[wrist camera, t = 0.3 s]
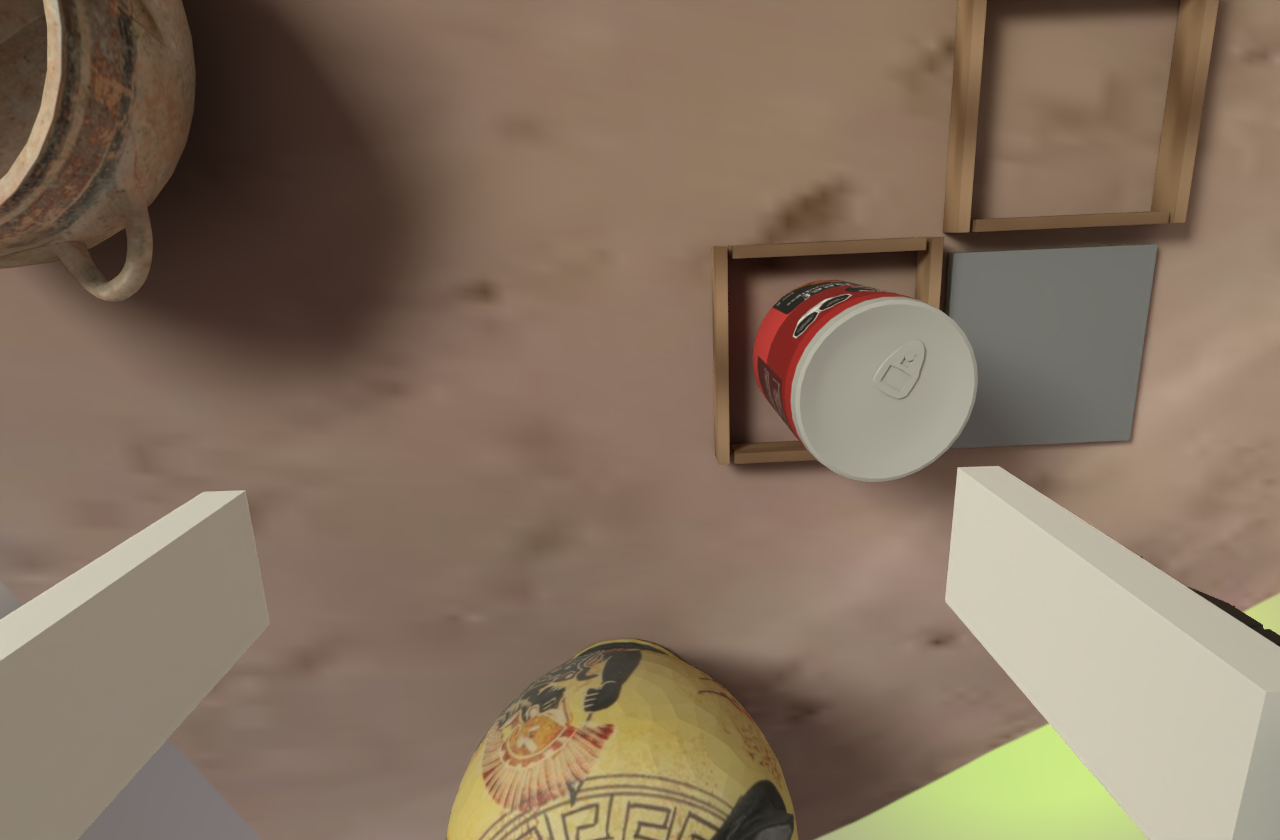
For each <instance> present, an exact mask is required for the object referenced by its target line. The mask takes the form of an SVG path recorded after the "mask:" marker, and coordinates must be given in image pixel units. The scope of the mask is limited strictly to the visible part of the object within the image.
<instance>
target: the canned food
mask: <svg viewBox="0 0 1280 840" xmlns="http://www.w3.org/2000/svg"><path fill="white" fill-rule="evenodd" d="M753 367H754V374H755V377H756V380H757V383H758V386H759V388H760V389H761V391H762V393H763V394H764V396H765V398H766V399H767V400H768V402H769V403H770V404H771V405H772V407H773V408H774V409H775V411H776V412H777V413H778V414H779V416H780V417H781V418H782V420H783V421H784V422H785V423H786V425H787V426H788V427H789V428H790V430H791V431H792V432H793V434H794V435H795V436H796V437H797V439H798V440H799V441H800V442H801V443H802V445H803V446H804V447H805V448H806V449H807V450H808V451H809V452H810V453H811V454H812V455H813V456H814V458H815V459H816V460H817V461H819V462H820V463H822V464H823V465H825V466H826V467H827V468H829V469H830V470H832V471H833V472H835V473H837V474H840V475H842V476H845V477H847V478H850V479H854V480H859V481H865V482H885V481H890V480H894V479H899V478H903V477H905V476H908V475H910V474H913V473H915V472H918V471H920V470H921V469H923V468H925V467H926V466H928V465H929V464H931V463H933V462H934V461H935V460H937V459H938V458H939V457H940V456H941V455H942V454H943V453H944V452H946V451H947V450H948V449H949V448H950V446H951V445H952V444H953V443H954V441H955V440H956V439H957V438H958V437H959V435H960V434H961V432H962V430H963V428H964V427H965V425H966V423H967V421H968V420H969V417H970V414H971V412H972V409H973V406H974V403H975V399H976V392H977V385H978V376H977V363H976V360H975V356H974V352H973V348H972V346H971V344H970V342H969V340H968V339H967V337H966V335H965V333H964V332H963V331H962V329H961V328H960V327H959V326H958V325H957V323H956V322H955V321H954V320H953V319H951V318H950V317H949V316H947V315H946V314H945V313H943V312H942V311H941V310H939V309H937V308H936V307H934V306H932V305H929V304H927V303H925V302H923V301H920V300H917V299H913V298H911V297H907V296H903V295H899V294H895V293H891V292H887V291H883V290H878V289H874V288H870V287H866V286H862V285H858V284H854V283H849V282H844V281H839V280H821V281H816V282H811V283H808V284H805V285H803V286H801V287H798V288H796V289H794V290H793V291H791V292H790V293H788V294H787V295H785V296H784V297H782V298H781V299H780V300H779V301H778V302H777V303H776V304H775V305H774V306H773V307H772V308H771V310H770V311H769V313H768V314H767V315H766V317H765V318H764V320H763V322H762V324H761V326H760V328H759V330H758V332H757V336H756V340H755V343H754V349H753Z"/></svg>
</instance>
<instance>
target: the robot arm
mask: <svg viewBox="0 0 1280 840" xmlns="http://www.w3.org/2000/svg"><path fill="white" fill-rule="evenodd" d="M945 601H946V603H947V604H948V605H949V606H950V607H951V608H952V610H953V611H954V612H955V613H956V614H957V616H958V617H959V618H960V619H961V620H962V621H963V623H964V624H965V625H966V626H967V627H968V628H969V630H970V631H971V632H972V633H973V634H974V635H975V637H976V638H977V639H978V640H979V641H980V643H981V644H982V645H983V646H984V647H985V648H986V650H987V651H988V652H989V653H990V654H991V655H992V657H993V658H994V659H995V660H996V661H997V662H998V664H999V665H1000V666H1001V667H1002V668H1003V670H1004V671H1005V672H1006V673H1007V674H1008V675H1009V677H1010V678H1011V679H1012V680H1013V681H1014V682H1015V684H1016V685H1017V686H1018V687H1019V688H1020V690H1021V691H1022V692H1023V693H1024V694H1025V695H1026V697H1027V698H1028V699H1029V700H1030V701H1031V702H1032V704H1033V705H1034V706H1035V707H1036V708H1037V709H1038V711H1039V712H1040V713H1041V714H1042V715H1043V717H1044V718H1045V719H1046V720H1047V721H1048V722H1049V724H1050V725H1051V726H1052V727H1053V728H1054V729H1055V731H1056V732H1057V733H1058V734H1059V735H1060V737H1061V738H1062V739H1063V740H1064V741H1065V742H1066V743H1067V745H1068V746H1069V747H1070V748H1071V749H1072V751H1073V752H1074V753H1075V754H1076V755H1077V756H1078V758H1079V759H1080V760H1081V761H1082V762H1083V763H1084V765H1085V766H1086V767H1087V768H1088V769H1089V771H1091V773H1092V774H1093V775H1094V776H1095V778H1096V779H1097V780H1098V781H1099V782H1100V783H1101V785H1102V786H1103V787H1104V788H1105V789H1106V790H1107V792H1108V793H1109V794H1110V795H1111V796H1112V798H1113V799H1114V800H1115V801H1116V802H1117V803H1118V805H1119V806H1120V807H1121V808H1122V809H1123V811H1124V812H1125V813H1126V814H1127V815H1128V816H1129V818H1130V819H1131V820H1132V821H1133V822H1134V823H1135V825H1136V826H1137V827H1138V828H1139V829H1140V830H1141V832H1142V833H1143V834H1144V835H1145V836H1146V837H1147V839H1148V840H1280V635H1278V634H1276V633H1275V632H1273V631H1272V630H1270V629H1264V628H1263V625H1262V624H1261V623H1259V622H1257V621H1256V620H1254V619H1253V618H1251V617H1249V616H1248V615H1246V614H1245V613H1243V612H1241V611H1240V610H1238V609H1237V608H1235V607H1233V606H1232V605H1230V604H1229V603H1226V602H1224V601H1222V600H1219V599H1217V598H1214V597H1212V596H1209V595H1207V594H1204V593H1202V592H1200V591H1197V590H1195V589H1192V588H1190V587H1187V586H1185V585H1183V584H1181V583H1180V582H1178V581H1177V580H1175V579H1173V578H1172V577H1170V576H1169V575H1167V574H1166V573H1164V572H1163V571H1161V570H1160V569H1158V568H1156V567H1155V566H1153V565H1152V564H1150V563H1149V562H1147V561H1146V560H1144V559H1142V558H1141V557H1139V556H1138V555H1136V554H1135V553H1133V552H1132V551H1130V550H1128V549H1127V548H1125V547H1124V546H1122V545H1121V544H1119V543H1118V542H1116V541H1114V540H1113V539H1111V538H1110V537H1108V536H1107V535H1105V534H1104V533H1102V532H1100V531H1099V530H1097V529H1096V528H1094V527H1093V526H1091V525H1090V524H1088V523H1086V522H1085V521H1083V520H1082V519H1080V518H1079V517H1077V516H1076V515H1074V514H1073V513H1071V512H1069V511H1068V510H1066V509H1065V508H1063V507H1062V506H1060V505H1059V504H1057V503H1055V502H1054V501H1052V500H1051V499H1049V498H1048V497H1046V496H1045V495H1043V494H1041V493H1040V492H1038V491H1037V490H1035V489H1034V488H1032V487H1031V486H1029V485H1027V484H1026V483H1024V482H1023V481H1021V480H1020V479H1018V478H1017V477H1015V476H1013V475H1012V474H1010V473H1009V472H1007V471H1006V470H1004V469H1003V468H1001V467H999V466H983V467H958V469H957V479H956V490H955V501H954V512H953V522H952V533H951V544H950V555H949V565H948V576H947V587H946V598H945ZM269 625H270V622H269V616H268V611H267V605H266V600H265V594H264V589H263V583H262V578H261V572H260V567H259V561H258V556H257V550H256V545H255V539H254V534H253V528H252V523H251V517H250V512H249V506H248V501H247V496H246V490H244V491H213V492H202V493H201V494H199V495H198V496H196V497H195V498H193V499H191V500H190V501H188V502H187V503H185V504H183V505H182V506H180V507H179V508H177V509H175V510H174V511H172V512H171V513H169V514H167V515H166V516H164V517H163V518H161V519H160V520H158V521H156V522H155V523H153V524H152V525H150V526H148V527H147V528H145V529H144V530H142V531H140V532H139V533H137V534H136V535H134V536H132V537H131V538H129V539H128V540H126V541H125V542H123V543H121V544H120V545H118V546H117V547H115V548H113V549H112V550H110V551H109V552H107V553H105V554H104V555H102V556H101V557H99V558H98V559H96V560H94V561H93V562H91V563H90V564H88V565H86V566H85V567H83V568H82V569H80V570H78V571H77V572H75V573H74V574H72V575H70V576H69V577H67V578H66V579H64V580H63V581H61V582H59V583H58V584H56V585H55V586H53V587H51V588H50V589H48V590H47V591H45V592H43V593H42V594H40V595H39V596H37V597H35V598H34V599H32V600H31V601H29V602H28V603H26V604H24V605H23V606H21V607H20V608H18V609H16V610H15V611H13V612H12V613H10V614H8V615H7V616H5V617H4V618H2V619H1V620H0V840H78V839H79V837H80V836H81V835H82V834H83V833H84V832H85V831H86V829H87V828H88V827H89V826H90V825H91V824H92V823H93V822H94V821H95V820H96V818H97V817H98V816H99V815H100V814H101V813H102V812H103V811H104V809H105V808H106V807H107V806H108V805H109V804H110V803H111V802H112V801H113V799H114V798H115V797H116V796H117V795H118V794H119V793H120V791H121V790H122V789H123V788H124V787H125V786H126V785H127V784H128V783H129V782H130V780H131V779H132V778H133V777H134V776H135V775H136V774H137V772H138V771H139V770H140V769H141V768H142V767H143V766H144V765H145V764H146V762H147V761H148V760H149V759H150V758H151V757H152V756H153V755H154V753H155V752H156V751H157V750H158V749H159V748H160V747H161V746H162V745H163V743H164V742H165V741H166V740H167V739H168V738H169V737H170V736H171V735H172V733H173V732H174V731H175V730H176V729H177V728H178V727H179V726H180V724H181V723H182V722H183V721H184V720H185V719H186V718H187V717H188V716H189V714H190V713H191V712H192V711H193V710H194V709H195V708H196V707H197V705H198V704H199V703H200V702H201V701H202V700H203V699H204V698H205V697H206V695H207V694H208V693H209V692H210V691H211V690H212V689H213V688H214V686H215V685H216V684H217V683H218V682H219V681H220V680H221V679H222V677H223V676H224V675H225V674H226V673H227V672H228V671H229V670H230V669H231V667H232V666H233V665H234V664H235V663H236V662H237V661H238V660H239V658H240V657H241V656H242V655H243V654H244V653H245V652H246V651H247V650H248V648H249V647H250V646H251V645H252V644H253V643H254V642H255V641H256V639H257V638H258V637H259V636H260V635H261V634H262V633H263V632H264V631H265V629H266V628H267V627H268V626H269Z"/></svg>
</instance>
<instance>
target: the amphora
mask: <svg viewBox="0 0 1280 840" xmlns="http://www.w3.org/2000/svg"><path fill="white" fill-rule="evenodd" d="M446 840H799V839H798V833H797V826H796V820H795V813H794V809H793V804H792V800H791V797H790V794H789V791H788V788H787V785H786V782H785V779H784V776H783V773H782V770H781V767H780V764H779V762H778V760H777V758H776V756H775V754H774V753H773V751H772V749H771V747H770V745H769V744H768V742H767V740H766V738H765V737H764V735H763V733H762V731H761V730H760V729H759V727H758V726H757V724H756V723H755V722H754V720H753V719H752V717H751V716H750V715H749V714H748V712H747V711H746V710H745V709H744V708H743V706H742V705H741V704H740V703H739V702H738V701H737V700H736V699H735V698H734V697H733V696H732V695H731V694H730V693H729V692H728V691H727V690H726V689H725V688H724V687H723V686H721V685H720V684H719V683H718V682H716V681H715V680H714V679H712V678H711V677H710V676H708V675H707V674H706V673H704V672H702V671H700V670H698V669H697V668H695V667H693V666H691V665H689V664H687V663H686V662H684V661H682V660H680V659H679V658H678V657H677V656H675V655H674V654H673V653H671V652H670V651H668V650H666V649H664V648H662V647H661V646H659V645H656V644H653V643H650V642H646V641H642V640H637V639H616V640H609V641H602V642H599V643H597V644H595V645H592V646H590V647H588V648H586V649H585V650H583V651H582V652H580V653H579V654H577V655H576V656H575V657H574V658H573V659H570V660H569V661H567V662H565V663H563V664H562V665H560V666H558V667H557V668H555V669H553V670H552V671H550V672H548V673H547V674H545V675H543V676H542V677H540V678H539V679H538V680H536V681H535V682H533V683H532V684H531V685H530V686H529V687H528V688H527V689H526V690H525V691H523V692H522V693H521V694H520V695H519V696H518V697H517V698H516V699H515V700H514V701H513V702H512V703H511V704H510V705H509V706H508V707H507V708H506V709H505V710H504V711H503V713H502V714H501V715H500V716H499V717H498V718H497V720H496V721H495V723H494V724H493V726H492V727H491V729H490V730H489V731H488V733H487V734H486V735H485V736H484V738H483V739H482V741H481V742H480V744H479V746H478V748H477V749H476V751H475V753H474V755H473V756H472V759H471V761H470V763H469V765H468V767H467V770H466V772H465V774H464V776H463V779H462V781H461V784H460V787H459V790H458V793H457V796H456V799H455V802H454V805H453V808H452V812H451V816H450V820H449V825H448V829H447V834H446Z"/></svg>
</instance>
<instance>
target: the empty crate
mask: <svg viewBox="0 0 1280 840" xmlns="http://www.w3.org/2000/svg"><path fill="white" fill-rule="evenodd" d="M1218 4H1219V0H1180V5H1179V12H1178V19H1177V27H1176V34H1175V41H1174V48H1173V55H1172V63H1171V70H1170V77H1169V84H1168V91H1167V99H1166V106H1165V113H1164V120H1163V127H1162V135H1161V142H1160V149H1159V156H1158V163H1157V171H1156V178H1155V185H1154V192H1153V199H1152V207H1151V212H1131V213H1109V214H1086V215H1064V216H1041V217H1019V218H996V219H974V220H970V217H971V204H972V191H973V178H974V164H975V151H976V138H977V125H978V111H979V98H980V85H981V72H982V58H983V45H984V32H985V19H986V5H987V0H958V11H957V26H956V42H955V57H954V72H953V87H952V102H951V117H950V132H949V147H948V163H947V178H946V193H945V208H944V223H943V232H949V233H962V232H985V231H1007V230H1030V229H1052V228H1075V227H1097V226H1119V225H1142V224H1164V223H1185V221H1186V215H1187V208H1188V201H1189V195H1190V188H1191V182H1192V175H1193V168H1194V162H1195V155H1196V149H1197V142H1198V135H1199V129H1200V122H1201V116H1202V109H1203V102H1204V96H1205V89H1206V83H1207V76H1208V70H1209V63H1210V56H1211V50H1212V43H1213V37H1214V30H1215V23H1216V17H1217V10H1218Z"/></svg>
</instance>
